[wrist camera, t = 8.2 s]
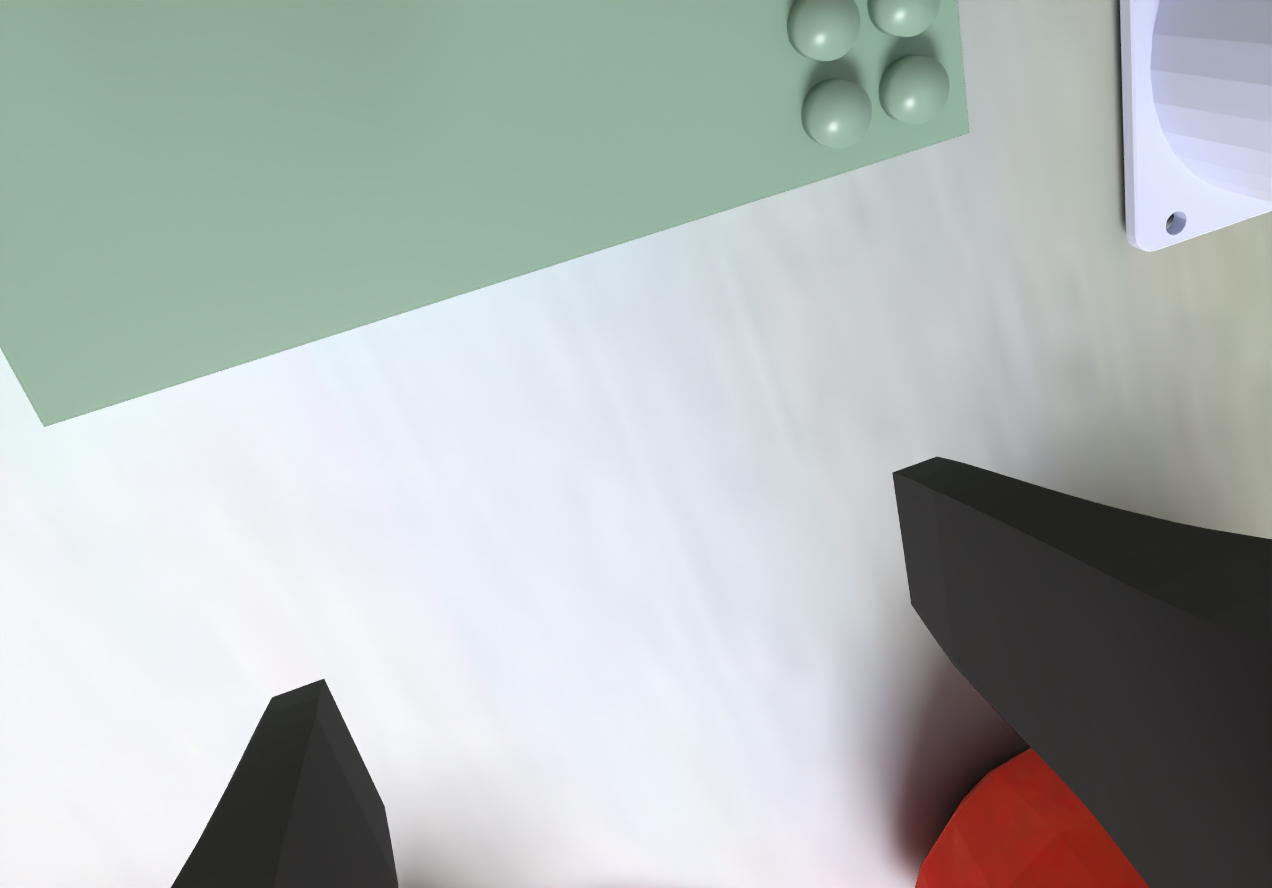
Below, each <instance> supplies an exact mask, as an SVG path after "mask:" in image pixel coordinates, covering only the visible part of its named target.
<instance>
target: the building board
mask: <svg viewBox="0 0 1272 888" xmlns="http://www.w3.org/2000/svg"><path fill="white" fill-rule="evenodd" d="M968 133H969V122H968V111H967V100H966V90H965V79H964V68H963V57H962V46H961V35H960V24H959V13H958V2H957V0H0V348H1V350H2V352H3V353H4V355H5V357H6V359H7V361H8V363H9V364H10V366H11V368H12V370H13V372H14V373H15V375H16V377H17V379H18V381H19V382H20V384H21V386H22V388H23V390H24V392H25V393H26V395H27V397H28V399H29V401H30V402H31V404H32V406H33V408H34V410H35V412H36V413H37V415H38V417H39V419H40V421H41V422H42V424H43V426H44V427H46V426H49V425H52V424H55V423H58V422H61V421H65V420H68V419H71V418H74V417H77V416H80V415H83V414H87V413H90V412H93V411H96V410H99V409H102V408H105V407H109V406H112V405H115V404H118V403H121V402H124V401H127V400H131V399H134V398H137V397H140V396H143V395H146V394H150V393H153V392H156V391H159V390H162V389H165V388H168V387H172V386H175V385H178V384H181V383H184V382H187V381H190V380H194V379H197V378H200V377H203V376H206V375H209V374H212V373H216V372H219V371H222V370H225V369H228V368H231V367H235V366H238V365H241V364H244V363H247V362H250V361H253V360H257V359H260V358H263V357H266V356H269V355H272V354H275V353H279V352H282V351H285V350H288V349H291V348H294V347H297V346H301V345H304V344H307V343H310V342H313V341H316V340H320V339H323V338H326V337H329V336H332V335H335V334H338V333H342V332H345V331H348V330H351V329H354V328H357V327H360V326H364V325H367V324H370V323H373V322H376V321H379V320H382V319H386V318H389V317H392V316H395V315H398V314H401V313H405V312H408V311H411V310H414V309H417V308H420V307H423V306H427V305H430V304H433V303H436V302H439V301H442V300H445V299H449V298H452V297H455V296H458V295H461V294H464V293H467V292H471V291H474V290H477V289H480V288H483V287H486V286H490V285H493V284H496V283H499V282H502V281H505V280H508V279H512V278H515V277H518V276H521V275H524V274H527V273H530V272H534V271H537V270H540V269H543V268H546V267H549V266H552V265H556V264H559V263H562V262H565V261H568V260H571V259H575V258H578V257H581V256H584V255H587V254H590V253H593V252H597V251H600V250H603V249H606V248H609V247H612V246H615V245H619V244H622V243H625V242H628V241H631V240H634V239H637V238H641V237H644V236H647V235H650V234H653V233H656V232H660V231H663V230H666V229H669V228H672V227H675V226H678V225H682V224H685V223H688V222H691V221H694V220H697V219H700V218H704V217H707V216H710V215H713V214H716V213H719V212H722V211H726V210H729V209H732V208H735V207H738V206H741V205H745V204H748V203H751V202H754V201H757V200H760V199H763V198H767V197H770V196H773V195H776V194H779V193H782V192H785V191H789V190H792V189H795V188H798V187H801V186H804V185H807V184H811V183H814V182H817V181H820V180H823V179H826V178H830V177H833V176H836V175H839V174H842V173H845V172H848V171H852V170H855V169H858V168H861V167H864V166H867V165H870V164H874V163H877V162H880V161H883V160H886V159H889V158H892V157H896V156H899V155H902V154H905V153H908V152H911V151H915V150H918V149H921V148H924V147H927V146H930V145H933V144H937V143H940V142H943V141H946V140H949V139H952V138H955V137H959V136H962V135H965V134H968Z"/></svg>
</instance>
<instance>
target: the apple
mask: <svg viewBox="0 0 1272 888" xmlns="http://www.w3.org/2000/svg"><path fill="white" fill-rule="evenodd" d="M915 888H1149V886H1148V885H1147V884H1146V883H1145V881H1144V880H1143V879H1142V877H1141V876H1140V875H1139V873H1138V872H1137V871H1136V869H1135V868H1134V867H1133V866H1132V864H1131V863H1130V862H1129V860H1128V859H1127V858H1126V856H1125V855H1124V854H1123V852H1122V851H1121V850H1120V849H1119V847H1118V846H1117V845H1116V843H1115V842H1114V841H1113V839H1112V838H1111V837H1110V836H1109V834H1108V833H1107V832H1106V830H1105V829H1104V828H1103V826H1102V825H1101V824H1100V823H1099V821H1098V820H1097V819H1096V818H1095V817H1094V815H1093V814H1092V813H1091V812H1090V811H1089V810H1088V808H1087V807H1086V806H1085V805H1084V804H1083V803H1082V802H1081V800H1080V799H1079V798H1078V797H1077V796H1076V795H1075V794H1074V792H1073V791H1072V790H1071V789H1070V788H1069V787H1068V786H1067V785H1066V784H1065V783H1064V782H1063V781H1062V780H1061V779H1060V778H1059V776H1058V775H1057V774H1056V773H1055V772H1054V771H1053V770H1052V769H1051V768H1050V767H1049V766H1048V765H1047V764H1046V763H1045V762H1044V761H1043V760H1042V759H1041V757H1040V756H1039V755H1038V754H1037V753H1036V752H1035V751H1034V750H1033V749H1032V748H1030V749H1028V750H1026V751H1024V752H1022V753H1021V754H1019V755H1017V756H1015V757H1013V758H1012V759H1010V760H1008V761H1007V762H1005V763H1003V764H1002V765H1000V766H998V767H997V768H995V769H993V770H992V771H990V772H988V773H987V774H986V775H985V776H984V777H983V778H982V779H981V780H980V781H979V782H978V783H977V784H976V785H975V786H974V787H973V789H972V790H971V791H970V792H969V793H968V794H967V795H966V796H965V797H964V798H963V799H962V801H961V803H960V804H959V806H958V807H957V809H956V811H955V812H954V814H953V815H952V817H951V819H950V820H949V822H948V823H947V825H946V827H945V828H944V830H943V831H942V833H941V835H940V836H939V838H938V839H937V841H936V843H935V844H934V846H933V847H932V849H931V851H930V852H929V854H928V855H927V857H926V859H925V860H924V862H923V863H922V865H921V867H920V870H919V874H918V878H917V882H916V886H915Z"/></svg>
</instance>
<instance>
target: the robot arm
mask: <svg viewBox="0 0 1272 888" xmlns="http://www.w3.org/2000/svg"><path fill="white" fill-rule="evenodd" d="M1120 20H1121V58H1122V96H1123V134H1124V171H1125V209H1126V235H1127V239H1128V242H1129V243H1130V244H1131V245H1132V246H1133V247H1136V248H1139V249H1141V250H1144V251H1147V252H1149V251H1156V250H1159V249H1162V248H1165V247H1168V246H1170V245H1173V244H1176V243H1179V242H1182V241H1185V240H1188V239H1191V238H1194V237H1197V236H1200V235H1202V234H1205V233H1208V232H1211V231H1214V230H1217V229H1220V228H1223V227H1226V226H1229V225H1232V224H1234V223H1237V222H1240V221H1243V220H1246V219H1249V218H1252V217H1255V216H1258V215H1261V214H1264V213H1266V212H1269V211H1272V0H1120ZM1171 214H1174V218H1173V222H1172V224H1171V225H1170V227H1169V228H1167V229H1166V222H1167V220H1168V218H1169V217H1170V215H1171ZM893 480H894V487H895V494H896V501H897V508H898V514H899V521H900V528H901V535H902V542H903V549H904V556H905V563H906V570H907V577H908V583H909V590H910V597H911V604H912V606H913V608H914V609H915V610H916V612H917V613H918V615H919V616H920V618H921V619H922V621H923V622H924V624H925V625H926V627H927V628H928V629H929V631H930V632H931V634H932V635H933V637H934V638H935V640H936V641H937V642H938V644H939V645H940V646H941V648H942V649H943V651H944V652H945V653H946V655H947V656H948V657H949V659H950V660H951V661H952V663H953V664H954V666H955V667H956V668H957V669H958V670H959V671H960V672H961V673H962V674H963V676H964V677H965V678H966V679H967V680H968V681H969V682H970V683H971V684H972V685H973V686H974V687H975V689H976V690H977V691H978V692H979V693H980V694H981V695H982V696H983V697H984V698H985V699H986V700H987V701H988V702H989V704H990V705H991V706H992V707H993V708H994V709H995V710H996V711H997V712H998V713H999V714H1000V715H1001V716H1002V717H1003V718H1004V720H1005V721H1006V722H1007V723H1008V724H1009V725H1010V726H1011V727H1012V728H1013V729H1014V730H1015V731H1016V732H1017V733H1018V734H1019V735H1020V736H1021V737H1022V738H1023V740H1024V741H1025V742H1026V743H1027V744H1028V745H1029V746H1030V747H1031V748H1032V749H1033V750H1034V751H1035V752H1036V753H1037V754H1038V755H1039V756H1040V757H1041V759H1042V760H1043V761H1044V762H1045V763H1046V764H1047V765H1048V766H1049V767H1050V768H1051V769H1052V770H1053V771H1054V772H1055V773H1056V774H1057V775H1058V776H1059V778H1060V779H1061V780H1062V781H1063V782H1064V783H1065V784H1066V785H1067V786H1068V787H1069V788H1070V789H1071V790H1072V791H1073V792H1074V794H1075V795H1076V796H1077V797H1078V798H1079V799H1080V800H1081V802H1082V803H1083V804H1084V805H1085V806H1086V807H1087V808H1088V810H1089V811H1090V812H1091V813H1092V814H1093V815H1094V817H1095V818H1096V819H1097V820H1098V821H1099V823H1100V824H1101V825H1102V826H1103V828H1104V829H1105V830H1106V832H1107V833H1108V834H1109V836H1110V837H1111V838H1112V839H1113V841H1114V842H1115V843H1116V845H1117V846H1118V847H1119V849H1120V850H1121V851H1122V852H1123V854H1124V855H1125V856H1126V858H1127V859H1128V860H1129V862H1130V863H1131V864H1132V866H1133V867H1134V868H1135V869H1136V871H1137V872H1138V873H1139V875H1140V876H1141V877H1142V879H1143V880H1144V881H1145V883H1146V884H1147V885H1148V886H1149V888H1272V539H1266V538H1259V537H1253V536H1247V535H1241V534H1235V533H1229V532H1223V531H1217V530H1211V529H1206V528H1201V527H1196V526H1191V525H1186V524H1181V523H1176V522H1171V521H1167V520H1163V519H1159V518H1155V517H1150V516H1146V515H1142V514H1138V513H1134V512H1129V511H1125V510H1121V509H1118V508H1114V507H1110V506H1106V505H1103V504H1099V503H1095V502H1092V501H1088V500H1084V499H1081V498H1077V497H1074V496H1070V495H1067V494H1064V493H1060V492H1057V491H1053V490H1050V489H1047V488H1044V487H1040V486H1037V485H1034V484H1030V483H1027V482H1024V481H1021V480H1017V479H1014V478H1011V477H1008V476H1005V475H1001V474H998V473H995V472H992V471H988V470H985V469H982V468H978V467H975V466H972V465H968V464H965V463H961V462H957V461H953V460H949V459H945V458H941V457H935V458H932V459H929V460H926V461H924V462H921V463H918V464H915V465H913V466H910V467H907V468H904V469H901V470H899V471H896V472H893ZM171 888H398V881H397V875H396V869H395V863H394V856H393V850H392V845H391V839H390V834H389V828H388V823H387V817H386V812H385V806H384V804H383V802H382V800H381V798H380V796H379V794H378V791H377V789H376V787H375V785H374V783H373V781H372V779H371V777H370V775H369V772H368V770H367V768H366V766H365V764H364V762H363V760H362V758H361V756H360V753H359V751H358V749H357V747H356V745H355V743H354V741H353V739H352V737H351V734H350V732H349V730H348V728H347V726H346V724H345V722H344V720H343V718H342V715H341V713H340V711H339V709H338V707H337V705H336V703H335V701H334V699H333V696H332V694H331V692H330V690H329V688H328V686H327V684H326V682H325V680H324V679H322V680H319V681H316V682H314V683H311V684H308V685H305V686H303V687H300V688H297V689H294V690H292V691H289V692H286V693H283V694H280V695H278V696H275V697H272V699H271V701H270V702H269V704H268V706H267V708H266V710H265V712H264V714H263V716H262V718H261V720H260V721H259V723H258V725H257V727H256V729H255V732H254V734H253V736H252V738H251V740H250V742H249V744H248V746H247V748H246V750H245V752H244V754H243V756H242V758H241V760H240V762H239V764H238V766H237V768H236V770H235V772H234V774H233V776H232V778H231V780H230V782H229V784H228V786H227V788H226V790H225V792H224V794H223V796H222V797H221V799H220V801H219V803H218V805H217V807H216V809H215V811H214V813H213V815H212V816H211V818H210V820H209V822H208V824H207V826H206V828H205V830H204V832H203V833H202V835H201V837H200V839H199V841H198V843H197V844H196V846H195V848H194V850H193V851H192V853H191V855H190V856H189V858H188V860H187V861H186V863H185V865H184V866H183V868H182V870H181V871H180V873H179V875H178V876H177V878H176V880H175V882H174V883H173V885H172V887H171Z"/></svg>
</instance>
